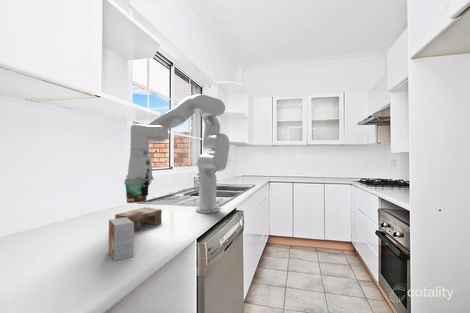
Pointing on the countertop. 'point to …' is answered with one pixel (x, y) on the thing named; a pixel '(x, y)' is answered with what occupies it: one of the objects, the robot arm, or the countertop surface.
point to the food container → (134, 190)
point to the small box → (121, 238)
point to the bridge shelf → (147, 220)
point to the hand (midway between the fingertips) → (139, 194)
